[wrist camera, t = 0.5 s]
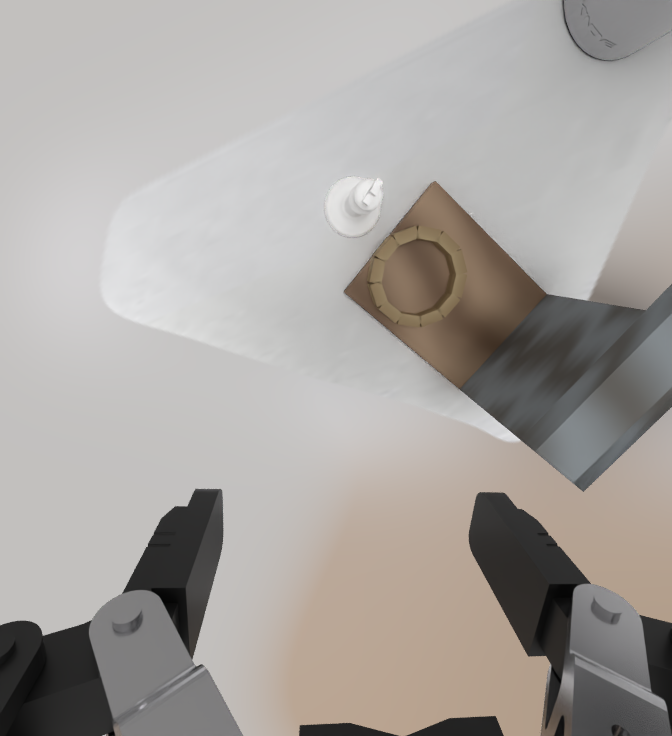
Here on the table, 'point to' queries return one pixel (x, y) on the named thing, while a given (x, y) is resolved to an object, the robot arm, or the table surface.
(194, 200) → the table surface
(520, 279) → the base
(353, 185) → the chess piece
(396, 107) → the table surface
